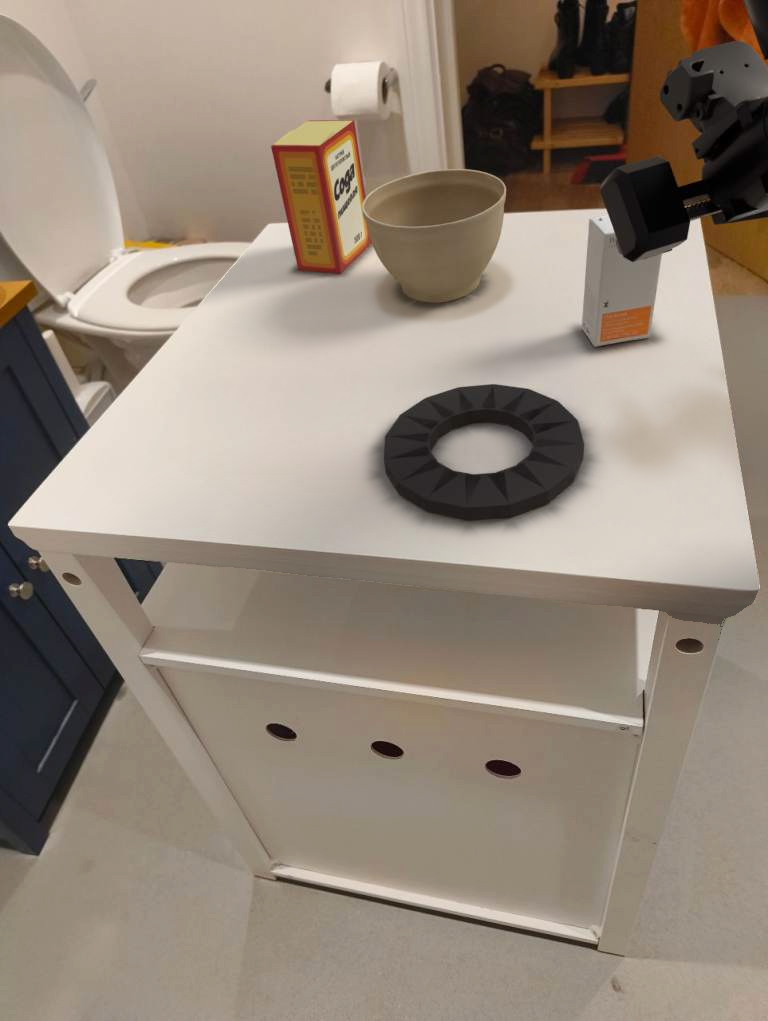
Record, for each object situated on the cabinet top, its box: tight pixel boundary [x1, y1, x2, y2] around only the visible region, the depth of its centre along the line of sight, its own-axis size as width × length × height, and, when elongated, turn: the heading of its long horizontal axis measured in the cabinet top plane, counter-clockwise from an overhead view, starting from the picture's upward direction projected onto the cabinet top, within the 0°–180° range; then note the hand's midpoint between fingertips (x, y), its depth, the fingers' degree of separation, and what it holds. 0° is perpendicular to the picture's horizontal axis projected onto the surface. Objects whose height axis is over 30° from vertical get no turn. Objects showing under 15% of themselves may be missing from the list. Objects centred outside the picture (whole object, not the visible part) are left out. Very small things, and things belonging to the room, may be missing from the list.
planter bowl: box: [362, 168, 507, 303], centre depth 86 cm, size 16×16×11 cm
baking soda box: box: [270, 119, 372, 275], centre depth 95 cm, size 10×6×16 cm
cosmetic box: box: [581, 214, 663, 348], centre depth 73 cm, size 6×4×12 cm
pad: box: [383, 383, 585, 522], centre depth 65 cm, size 17×17×2 cm
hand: (667, 233), depth 61 cm, fingers open, 9 cm apart
